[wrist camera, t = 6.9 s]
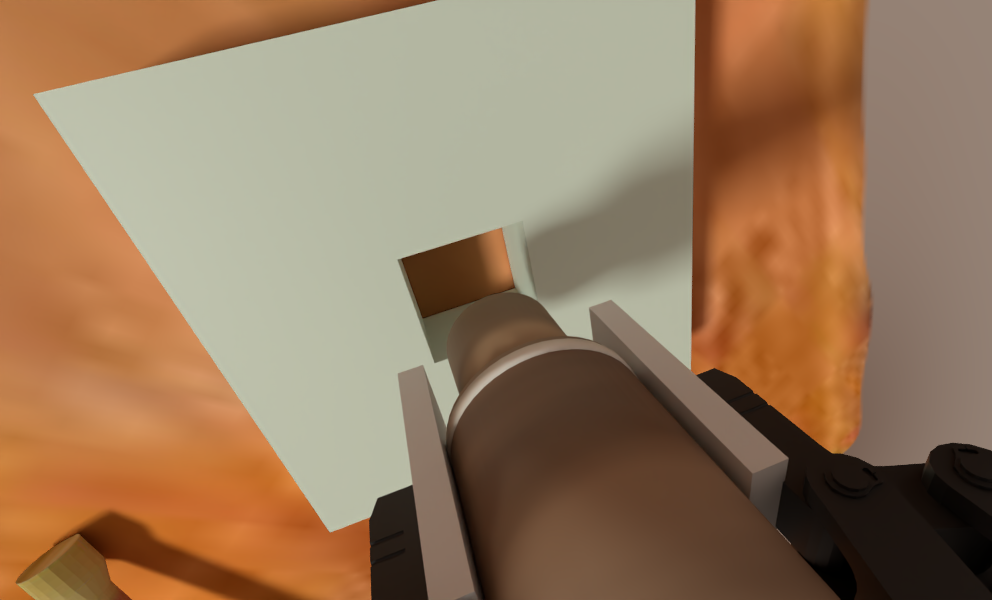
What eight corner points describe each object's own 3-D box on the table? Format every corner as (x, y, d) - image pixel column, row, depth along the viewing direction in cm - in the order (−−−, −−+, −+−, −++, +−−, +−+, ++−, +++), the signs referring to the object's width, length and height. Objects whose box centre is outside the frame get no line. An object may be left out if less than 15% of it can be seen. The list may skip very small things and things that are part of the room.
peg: (402, 301, 14) (542, 1004, 3) (561, 250, 14) (1080, 699, 4) (447, 424, 16) (604, 1028, 6) (580, 375, 17) (925, 840, 7)
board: (104, 88, 15) (33, 94, 12) (631, -36, 18) (696, -60, 15) (333, 469, 25) (330, 532, 22) (649, 353, 28) (690, 392, 25)
